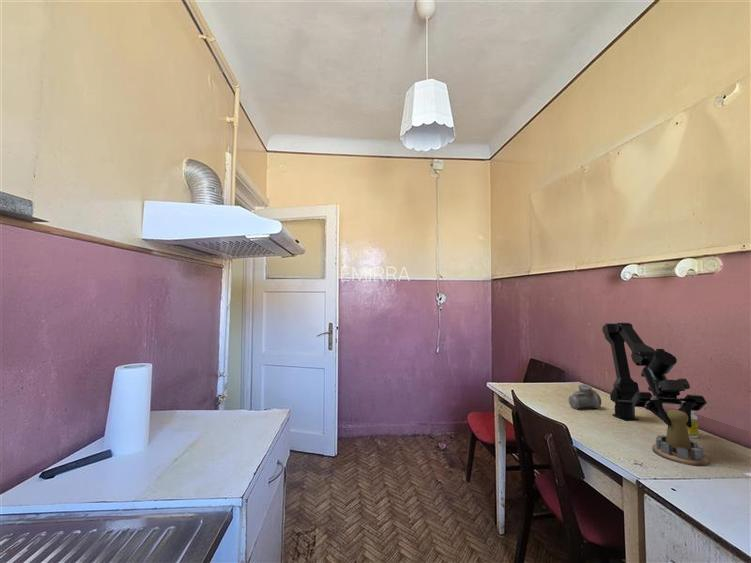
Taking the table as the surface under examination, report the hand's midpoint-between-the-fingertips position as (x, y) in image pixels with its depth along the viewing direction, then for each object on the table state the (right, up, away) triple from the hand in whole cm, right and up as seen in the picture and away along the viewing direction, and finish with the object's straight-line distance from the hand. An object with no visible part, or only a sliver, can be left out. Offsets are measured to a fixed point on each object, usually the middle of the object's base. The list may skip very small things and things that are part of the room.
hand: (680, 426), depth 103 cm
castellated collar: (0, -9, +1) cm, 9 cm away
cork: (0, -7, +1) cm, 7 cm away
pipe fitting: (-1, -12, +46) cm, 48 cm away
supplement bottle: (+18, -10, +16) cm, 26 cm away
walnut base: (0, -9, +1) cm, 9 cm away
